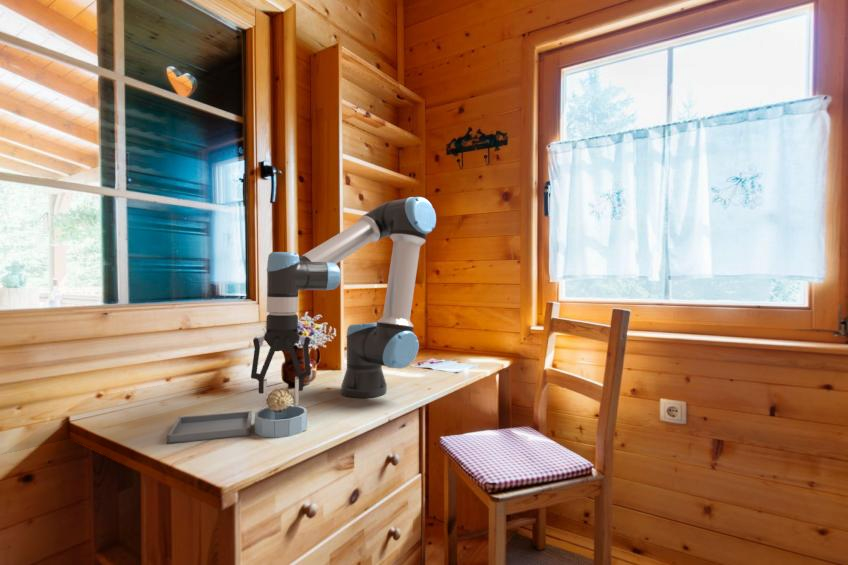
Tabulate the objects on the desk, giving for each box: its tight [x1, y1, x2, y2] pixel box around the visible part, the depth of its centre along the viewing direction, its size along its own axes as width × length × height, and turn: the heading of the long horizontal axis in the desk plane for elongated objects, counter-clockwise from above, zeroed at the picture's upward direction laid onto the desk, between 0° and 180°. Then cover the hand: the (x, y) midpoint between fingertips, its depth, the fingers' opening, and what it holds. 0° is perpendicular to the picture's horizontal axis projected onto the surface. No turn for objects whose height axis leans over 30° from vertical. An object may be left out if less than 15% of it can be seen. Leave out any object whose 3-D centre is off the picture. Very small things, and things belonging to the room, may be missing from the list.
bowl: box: [254, 405, 308, 438], centre depth 109 cm, size 12×12×4 cm
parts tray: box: [166, 410, 253, 445], centre depth 108 cm, size 17×14×2 cm
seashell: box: [267, 388, 296, 412], centre depth 109 cm, size 8×6×10 cm
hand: (280, 404), depth 109 cm, fingers closed on seashell, 7 cm apart
